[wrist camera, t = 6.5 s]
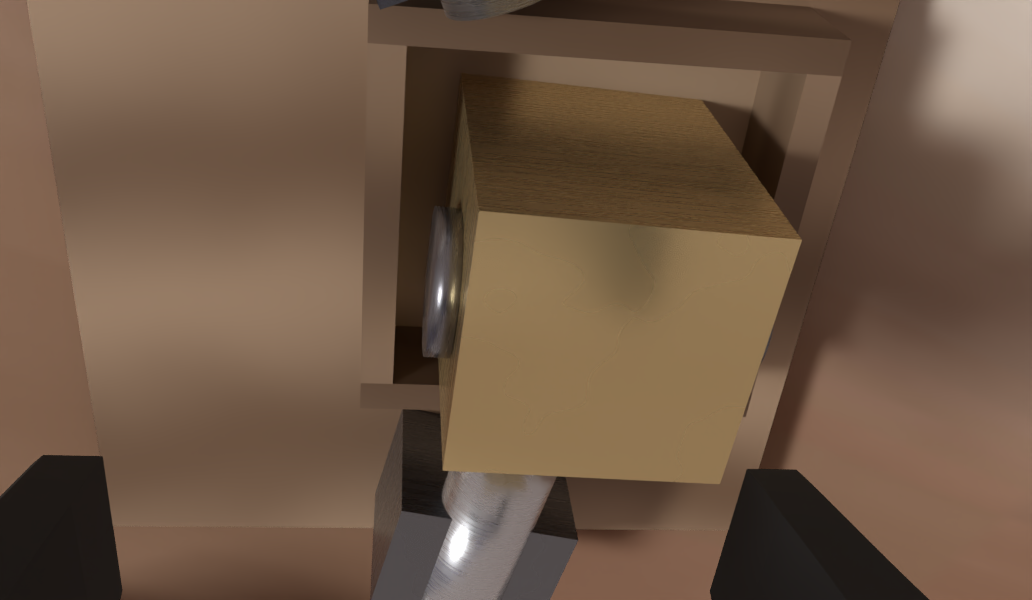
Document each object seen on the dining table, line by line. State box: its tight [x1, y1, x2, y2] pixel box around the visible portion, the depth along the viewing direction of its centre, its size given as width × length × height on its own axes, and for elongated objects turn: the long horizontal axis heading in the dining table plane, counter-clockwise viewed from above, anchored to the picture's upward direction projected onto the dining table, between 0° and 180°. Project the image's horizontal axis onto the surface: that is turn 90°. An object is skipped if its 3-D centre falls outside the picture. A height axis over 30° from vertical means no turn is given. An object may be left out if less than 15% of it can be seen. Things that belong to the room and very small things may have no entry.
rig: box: [27, 0, 900, 530], centre depth 18 cm, size 17×15×3 cm
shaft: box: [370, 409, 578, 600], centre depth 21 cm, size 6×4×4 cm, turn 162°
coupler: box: [422, 73, 802, 484], centre depth 17 cm, size 5×4×6 cm
